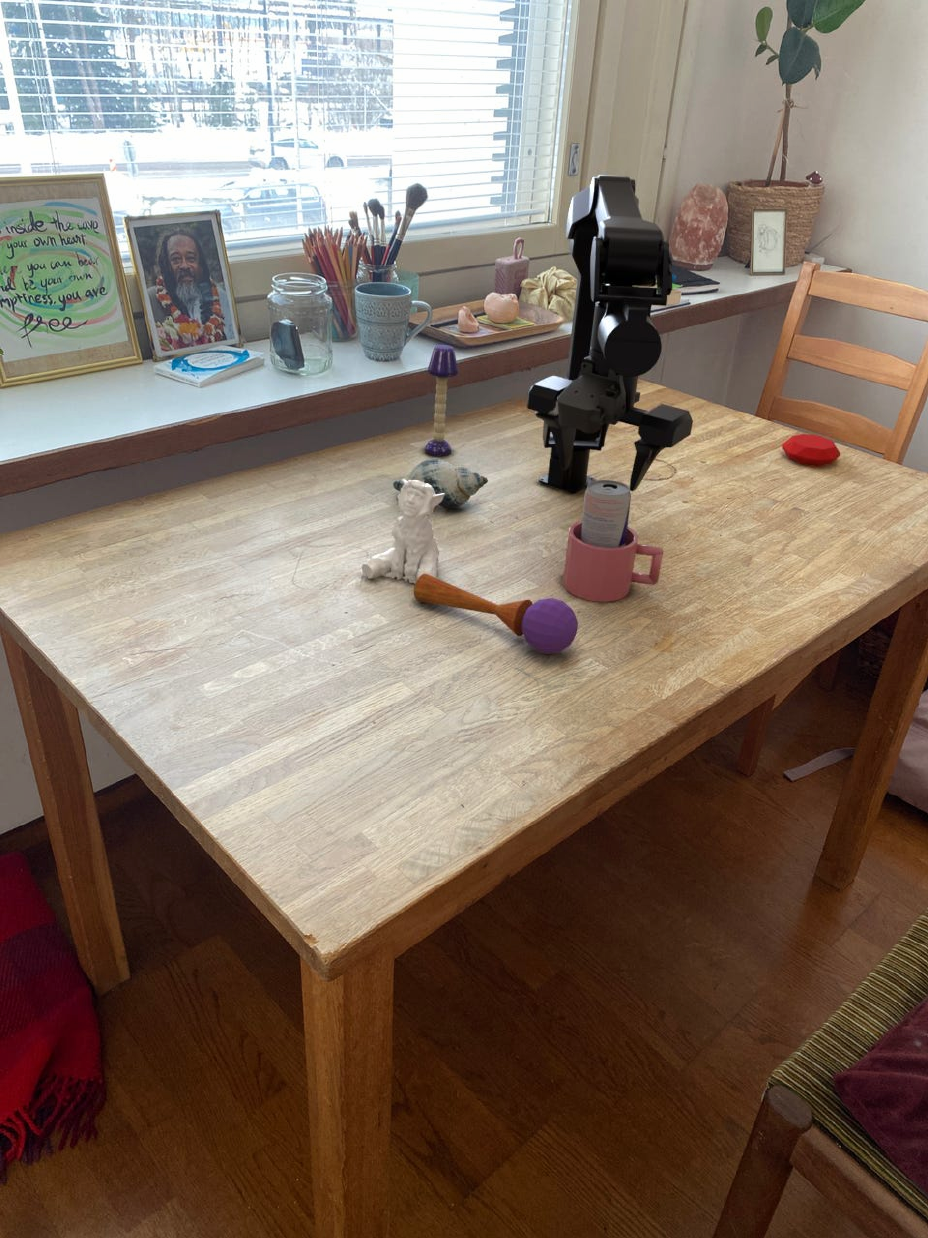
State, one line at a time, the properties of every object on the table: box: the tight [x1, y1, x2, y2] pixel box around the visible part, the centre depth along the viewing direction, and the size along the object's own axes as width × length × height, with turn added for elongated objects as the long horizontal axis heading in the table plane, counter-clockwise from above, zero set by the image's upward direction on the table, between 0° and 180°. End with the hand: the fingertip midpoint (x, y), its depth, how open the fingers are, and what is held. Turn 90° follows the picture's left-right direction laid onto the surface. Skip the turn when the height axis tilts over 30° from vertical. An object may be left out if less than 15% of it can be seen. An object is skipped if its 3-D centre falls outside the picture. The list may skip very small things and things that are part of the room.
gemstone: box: [781, 433, 841, 468], centre depth 156 cm, size 9×9×3 cm
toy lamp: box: [424, 344, 459, 457], centre depth 146 cm, size 5×5×17 cm
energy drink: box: [581, 479, 632, 548], centre depth 113 cm, size 5×5×12 cm
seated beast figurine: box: [361, 478, 445, 585], centre depth 113 cm, size 10×9×12 cm
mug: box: [562, 520, 664, 603], centre depth 114 cm, size 11×8×7 cm
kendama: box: [413, 574, 579, 655], centre depth 105 cm, size 6×6×20 cm
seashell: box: [392, 457, 489, 509], centre depth 132 cm, size 6×8×12 cm
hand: (598, 479), depth 112 cm, fingers open, 9 cm apart
